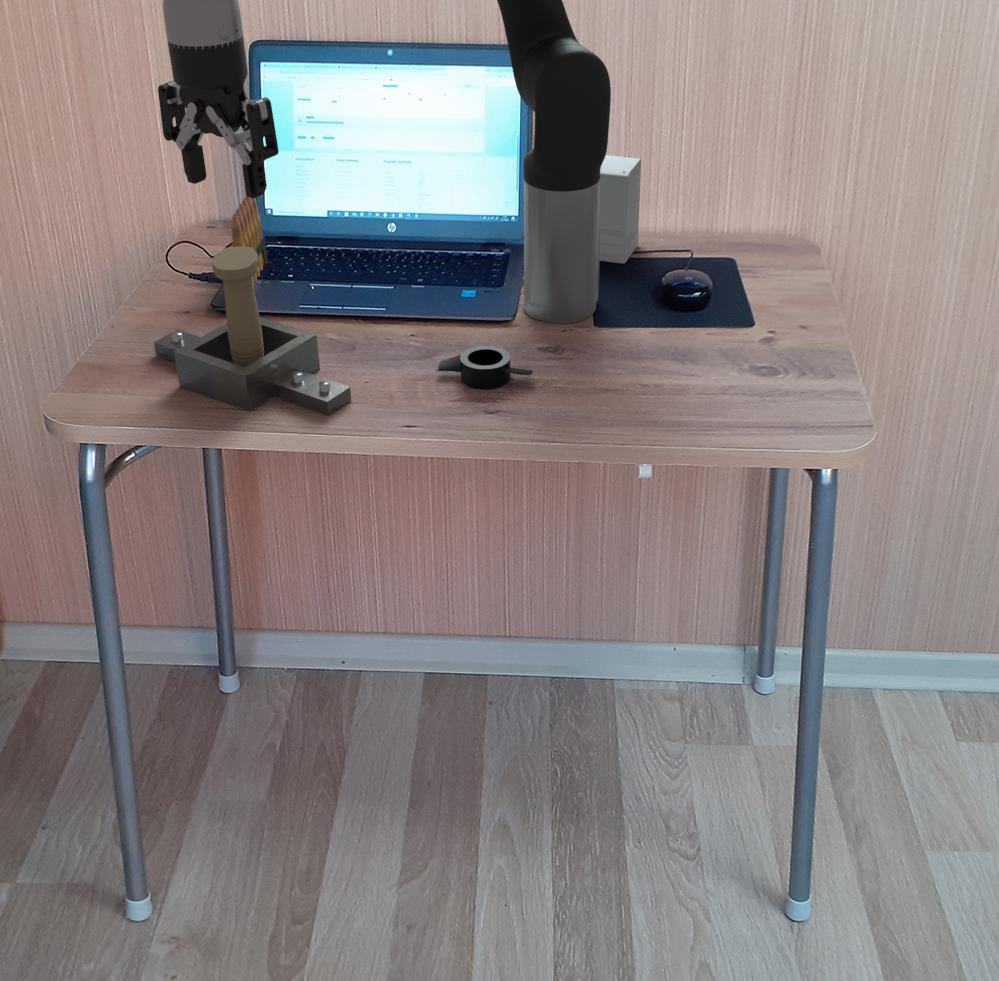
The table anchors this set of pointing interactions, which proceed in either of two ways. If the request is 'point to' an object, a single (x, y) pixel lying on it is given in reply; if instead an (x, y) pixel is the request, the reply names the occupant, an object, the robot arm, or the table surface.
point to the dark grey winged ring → (483, 367)
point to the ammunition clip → (249, 231)
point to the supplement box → (619, 207)
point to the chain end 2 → (280, 376)
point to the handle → (240, 302)
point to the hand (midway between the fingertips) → (226, 188)
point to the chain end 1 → (203, 354)
